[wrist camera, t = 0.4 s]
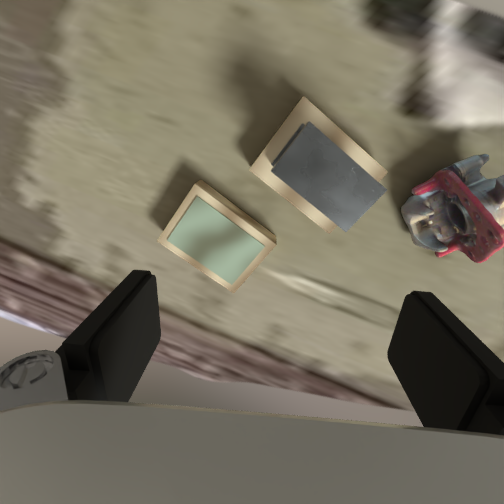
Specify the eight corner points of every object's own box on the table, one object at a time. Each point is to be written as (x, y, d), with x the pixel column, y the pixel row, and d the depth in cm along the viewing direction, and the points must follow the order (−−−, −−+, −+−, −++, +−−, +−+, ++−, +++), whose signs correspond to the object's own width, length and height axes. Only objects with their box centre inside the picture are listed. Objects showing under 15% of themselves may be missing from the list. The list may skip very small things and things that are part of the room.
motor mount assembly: (372, 199, 32) (506, 179, 21) (421, 153, 36) (555, 118, 25) (406, 276, 35) (535, 292, 25) (447, 227, 39) (574, 223, 29)
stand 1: (276, 236, 37) (276, 245, 34) (236, 282, 40) (233, 294, 37) (201, 179, 35) (194, 183, 32) (165, 233, 38) (156, 241, 35)
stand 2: (378, 168, 33) (388, 172, 30) (325, 226, 36) (329, 233, 33) (300, 99, 30) (303, 95, 28) (251, 166, 34) (249, 169, 31)
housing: (364, 178, 30) (387, 189, 24) (331, 213, 32) (345, 232, 26) (301, 123, 29) (309, 121, 23) (270, 163, 30) (270, 171, 24)
